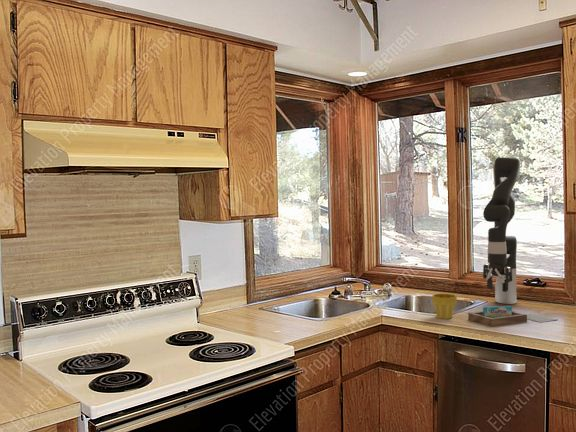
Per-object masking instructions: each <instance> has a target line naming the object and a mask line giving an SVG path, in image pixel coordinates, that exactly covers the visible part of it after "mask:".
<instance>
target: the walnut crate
mask: <svg viewBox="0 0 576 432" xmlns="http://www.w3.org/2000/svg"><path fill="white" fill-rule="evenodd" d="M527 314H528V313H523V312H522V313H521V312H518V311H515V310H514V311H513V310H512V316H505V317H498V318H490V317H486V316H483V310H481V311H474V312H468V316H467V317H468V321H471V322H475V323H478V324H481V325H485V326H489V327H499V326H506V325H513V324H519V323H520V324H521V323H527V322H528V319H527Z"/></svg>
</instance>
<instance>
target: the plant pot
mask: <svg viewBox="0 0 576 432" xmlns="http://www.w3.org/2000/svg"><path fill="white" fill-rule="evenodd" d="M457 299H458V298H457V295H455V294H452V293H444V292H443V293H442V292H441V293H434V294H432V296H431V300H432V303H433V306H434V310H435V314H436V318H438V319H442V320H448V319H452V318H453V315H454V311H455V306H456V304H457Z"/></svg>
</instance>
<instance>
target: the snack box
mask: <svg viewBox="0 0 576 432" xmlns="http://www.w3.org/2000/svg"><path fill="white" fill-rule="evenodd" d="M482 311H483V316H486V317H490V318H498V317H505V316H512V311H513V307H512V306H511V305H500V306H496V305H493V306H482Z"/></svg>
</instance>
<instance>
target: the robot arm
mask: <svg viewBox="0 0 576 432" xmlns="http://www.w3.org/2000/svg"><path fill="white" fill-rule="evenodd" d="M520 173H521V161H520V159H519V158H517V157H503V156H501V157H496V159H495V160H494V164H493V177H494V179H493V180H494V189H493V193H492V196H491V199H490V200H489V201H488V203H487V204H486V205H485V207H484V209H483V213H482V214H483V218H484V220H485V221H486V222H489V223H493V224H494V226H493V227H489V228H488V231H487V235H488V237H487V240H488V241H487V264H486V263H485V264H483V266H482V267H483V270H482V278H483V279H486V287H487V289H488V290H493V288H494V296H495V297H494V302H497V303H498V304H504V305H505V304H506V305H510V304H511V305H514V304H517V248H518V247H517V245H518V244H517V243H518V241H517V240H518V239H517V238H516V236H515V235H507V228H508V224H509V223H510V222H511V221H512V219H513V218H514V216H515V214H516V212H515V211H516V201H515V199H514V197H513V195H512V194H511V193H512V191H513V188H514V187H515V184H516V182H517V180H518V178H519V175H520ZM503 178H505V179H504V180H503ZM507 255H508V256H507ZM494 277H496V281H495V282H493V281H494V280H493V279H494ZM493 283H494V285H493ZM493 286H494V287H493Z"/></svg>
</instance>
